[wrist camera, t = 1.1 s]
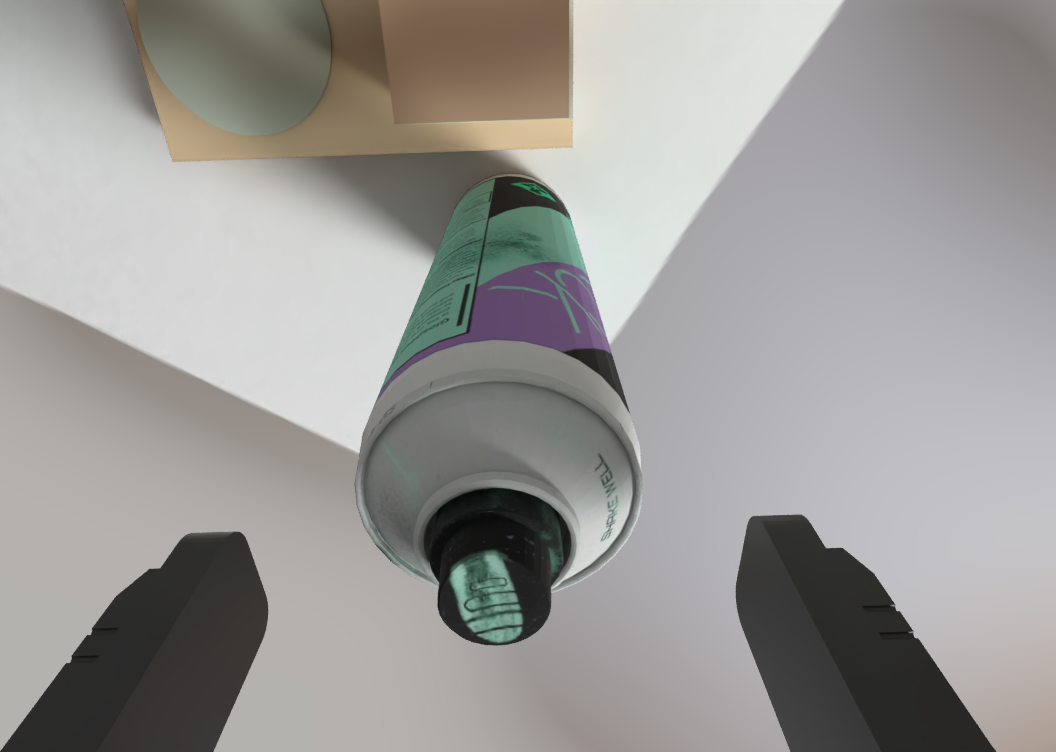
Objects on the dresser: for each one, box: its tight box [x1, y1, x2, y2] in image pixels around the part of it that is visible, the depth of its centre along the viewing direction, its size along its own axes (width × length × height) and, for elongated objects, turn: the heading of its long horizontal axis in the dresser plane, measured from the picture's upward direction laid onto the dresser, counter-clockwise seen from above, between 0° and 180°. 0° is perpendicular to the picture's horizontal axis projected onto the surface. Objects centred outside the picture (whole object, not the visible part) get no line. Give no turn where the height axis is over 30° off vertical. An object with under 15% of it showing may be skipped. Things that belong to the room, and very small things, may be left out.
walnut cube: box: [378, 0, 569, 124], centre depth 18 cm, size 5×5×5 cm
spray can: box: [355, 174, 643, 645], centre depth 17 cm, size 6×6×20 cm
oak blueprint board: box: [123, 0, 573, 162], centre depth 21 cm, size 8×15×3 cm, turn 92°
